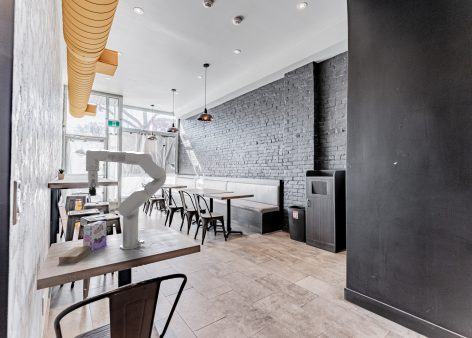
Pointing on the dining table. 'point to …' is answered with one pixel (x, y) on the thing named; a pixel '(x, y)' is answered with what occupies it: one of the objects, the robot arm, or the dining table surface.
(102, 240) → the candy box
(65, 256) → the walnut plinth
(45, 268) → the dining table surface
